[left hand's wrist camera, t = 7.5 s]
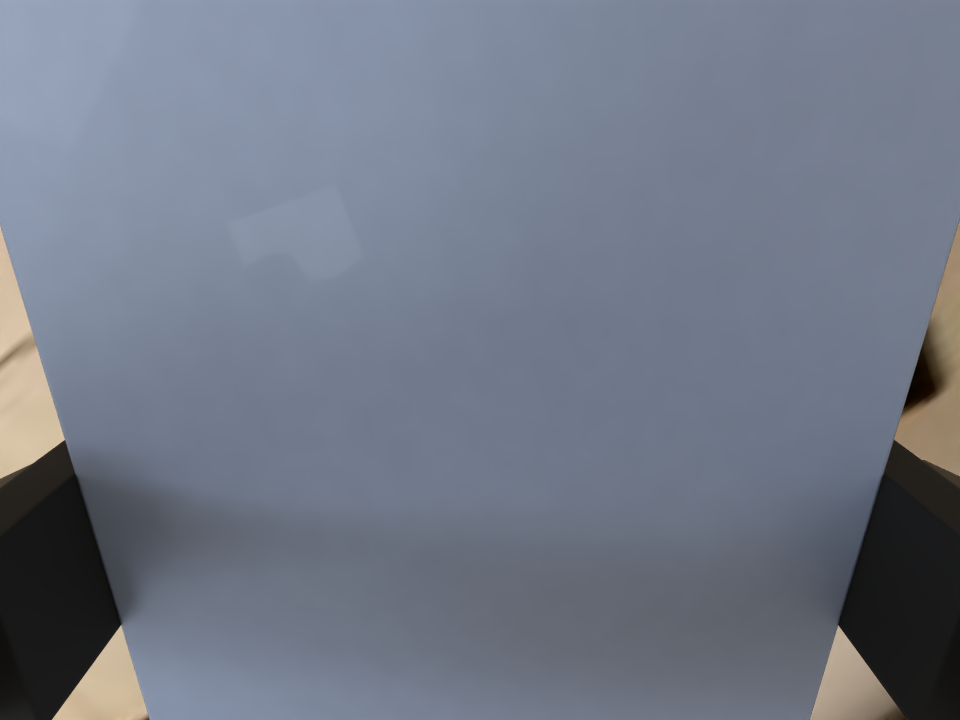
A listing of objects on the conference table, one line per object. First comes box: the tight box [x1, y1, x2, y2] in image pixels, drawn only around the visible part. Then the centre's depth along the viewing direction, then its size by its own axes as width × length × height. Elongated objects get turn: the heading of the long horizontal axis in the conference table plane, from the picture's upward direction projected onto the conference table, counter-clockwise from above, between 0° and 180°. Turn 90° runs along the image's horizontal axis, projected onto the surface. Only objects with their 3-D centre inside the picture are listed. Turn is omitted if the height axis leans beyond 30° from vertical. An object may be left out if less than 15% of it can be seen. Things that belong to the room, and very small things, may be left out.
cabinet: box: [0, 0, 960, 720], centre depth 11 cm, size 20×11×10 cm, turn 0°
